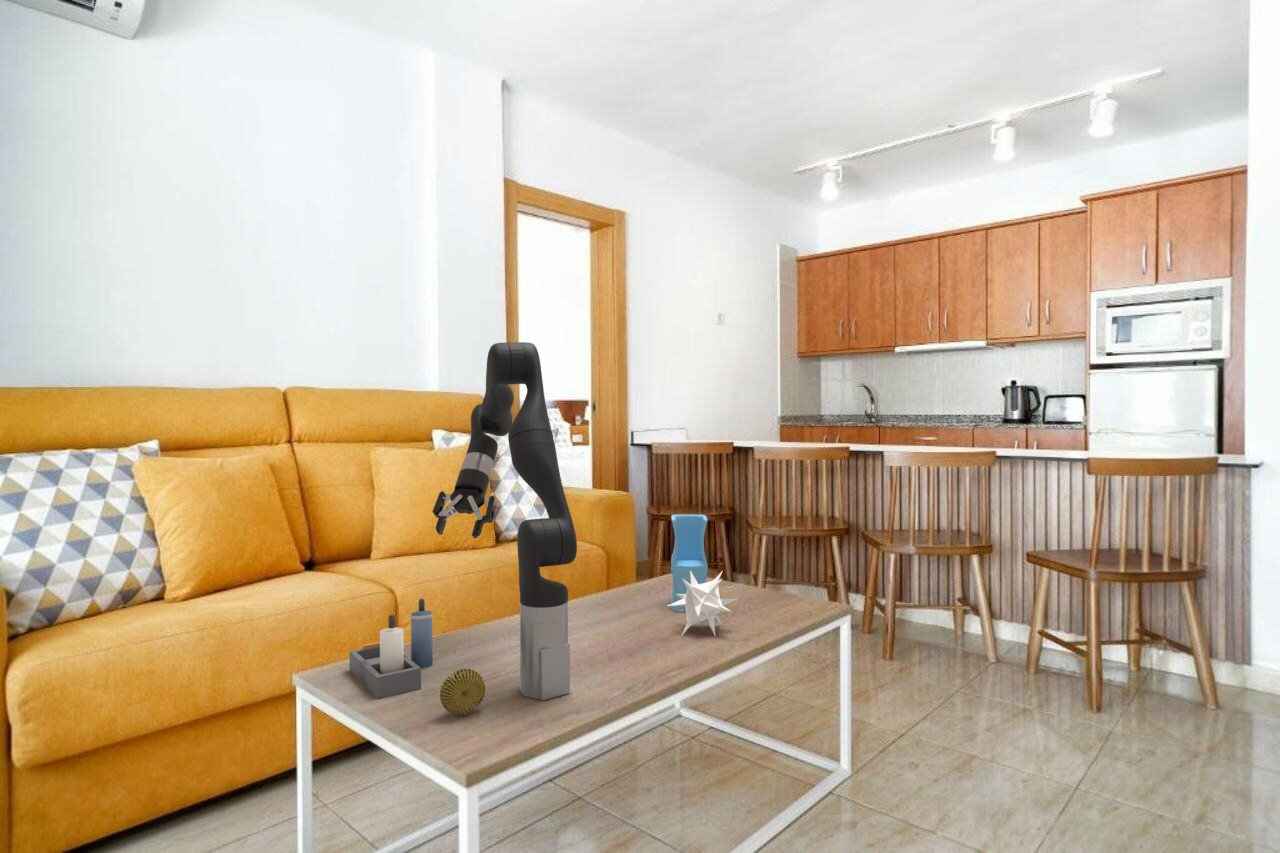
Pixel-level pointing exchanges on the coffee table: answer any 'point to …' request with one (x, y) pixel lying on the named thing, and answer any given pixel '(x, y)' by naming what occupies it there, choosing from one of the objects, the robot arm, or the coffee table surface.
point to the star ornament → (702, 602)
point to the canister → (422, 636)
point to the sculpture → (462, 692)
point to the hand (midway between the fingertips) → (456, 535)
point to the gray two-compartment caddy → (386, 664)
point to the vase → (688, 553)
